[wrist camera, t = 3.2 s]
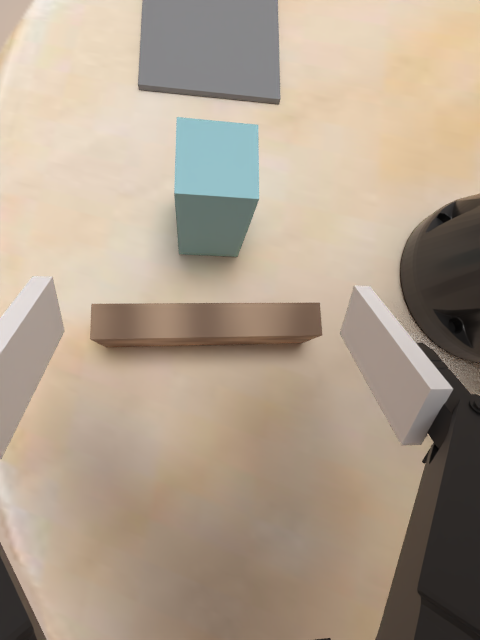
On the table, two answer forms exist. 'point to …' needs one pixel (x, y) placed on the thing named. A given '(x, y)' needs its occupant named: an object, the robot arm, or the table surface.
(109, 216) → the table surface
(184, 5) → the mat
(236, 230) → the block
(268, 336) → the rail
